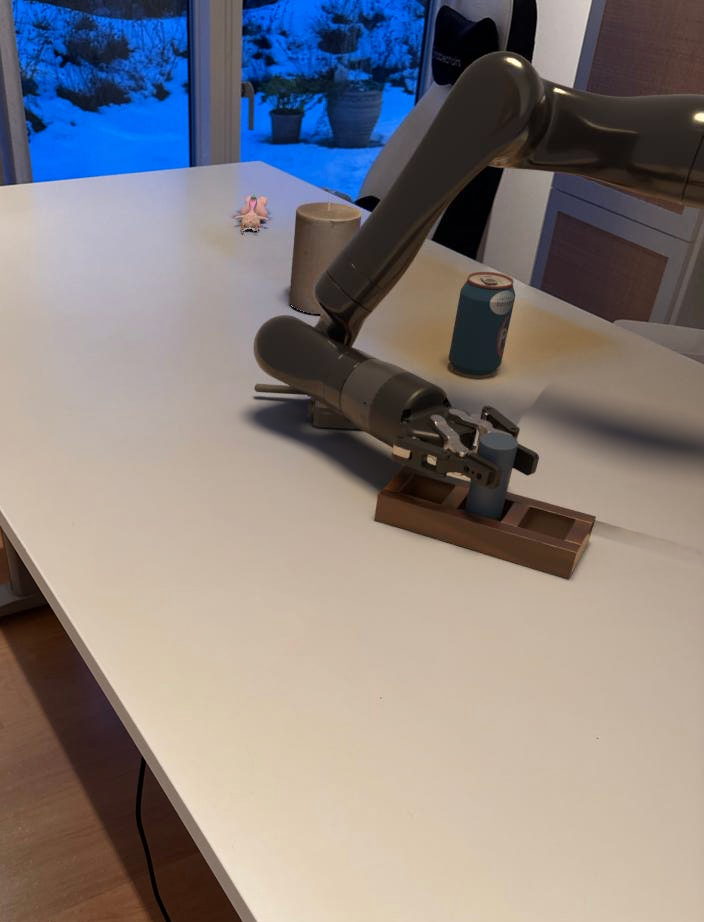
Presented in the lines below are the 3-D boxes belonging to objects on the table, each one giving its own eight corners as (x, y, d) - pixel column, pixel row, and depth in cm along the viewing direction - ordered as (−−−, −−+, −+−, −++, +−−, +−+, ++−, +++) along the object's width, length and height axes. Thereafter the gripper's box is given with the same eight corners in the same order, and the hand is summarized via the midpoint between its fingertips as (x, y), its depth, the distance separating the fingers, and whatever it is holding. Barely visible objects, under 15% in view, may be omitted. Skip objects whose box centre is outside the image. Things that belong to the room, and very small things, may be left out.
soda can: (505, 379, 126) (525, 288, 119) (454, 379, 126) (471, 287, 118) (490, 359, 132) (509, 270, 124) (441, 359, 131) (456, 270, 124)
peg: (501, 527, 97) (523, 438, 91) (490, 544, 95) (511, 452, 88) (467, 517, 98) (486, 428, 92) (455, 533, 96) (474, 443, 90)
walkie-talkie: (413, 403, 120) (254, 394, 121) (418, 370, 117) (256, 360, 118) (418, 435, 113) (249, 424, 114) (424, 400, 110) (251, 389, 111)
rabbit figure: (265, 243, 176) (273, 207, 186) (266, 210, 172) (275, 176, 182) (232, 240, 176) (241, 205, 186) (232, 208, 172) (242, 174, 182)
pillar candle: (280, 297, 149) (286, 194, 140) (337, 292, 152) (347, 190, 142) (303, 319, 142) (311, 212, 133) (362, 313, 145) (375, 207, 135)
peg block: (402, 488, 103) (406, 463, 101) (588, 542, 95) (596, 516, 93) (374, 520, 98) (377, 494, 96) (568, 579, 90) (577, 552, 88)
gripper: (345, 386, 95) (471, 455, 84) (447, 357, 102) (576, 418, 91) (337, 454, 100) (456, 528, 89) (435, 422, 106) (557, 487, 95)
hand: (516, 472), depth 90 cm, fingers open, 4 cm apart
